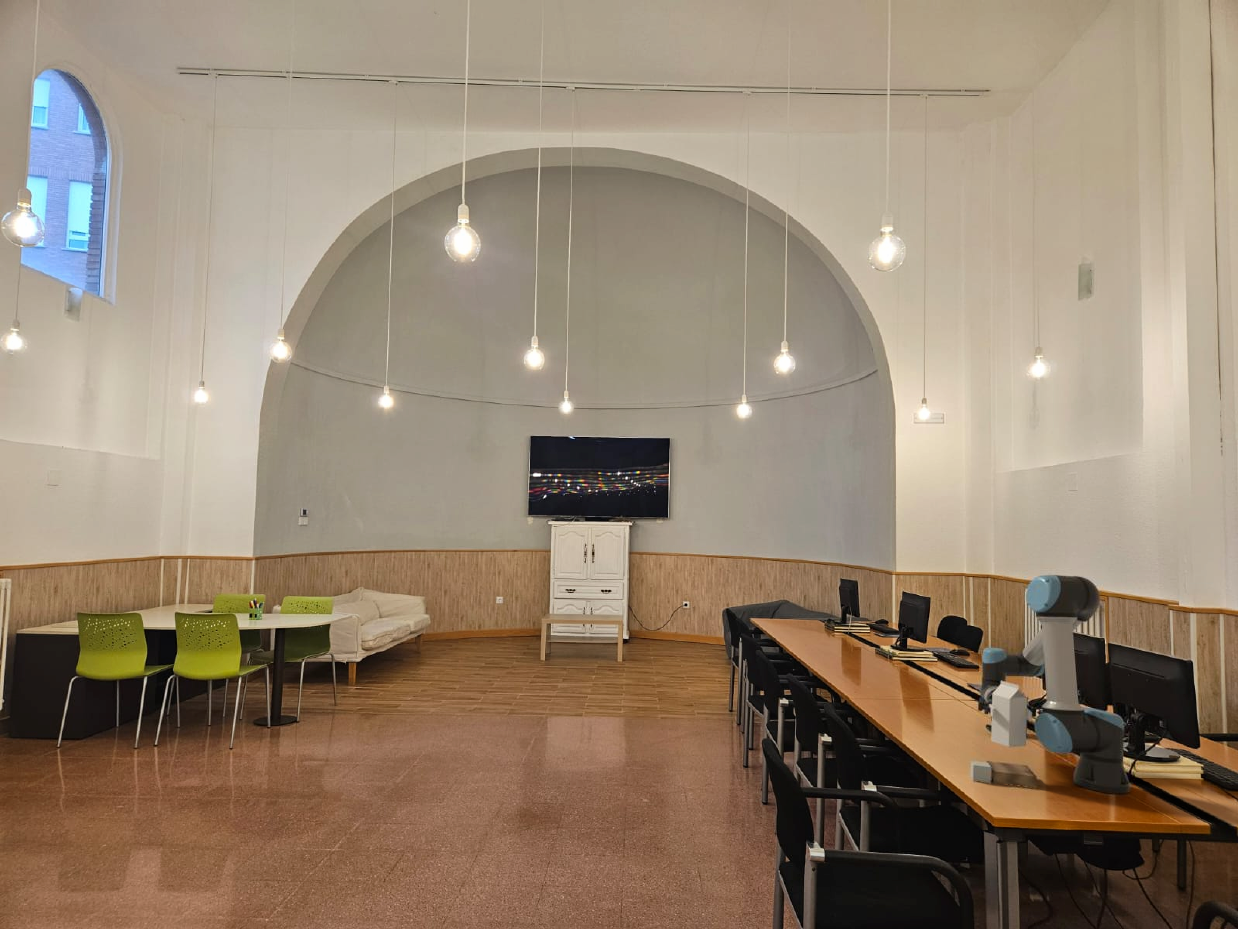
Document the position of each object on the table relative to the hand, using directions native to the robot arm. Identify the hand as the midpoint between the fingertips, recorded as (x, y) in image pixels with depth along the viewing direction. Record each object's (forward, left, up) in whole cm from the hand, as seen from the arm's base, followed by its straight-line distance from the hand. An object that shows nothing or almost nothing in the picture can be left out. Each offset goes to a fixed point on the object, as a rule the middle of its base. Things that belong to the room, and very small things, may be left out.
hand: (1012, 715), depth 257 cm
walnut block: (-1, -4, -21) cm, 22 cm away
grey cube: (+9, 0, -21) cm, 23 cm away
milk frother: (-12, -68, -21) cm, 72 cm away
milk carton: (0, -5, -10) cm, 11 cm away
